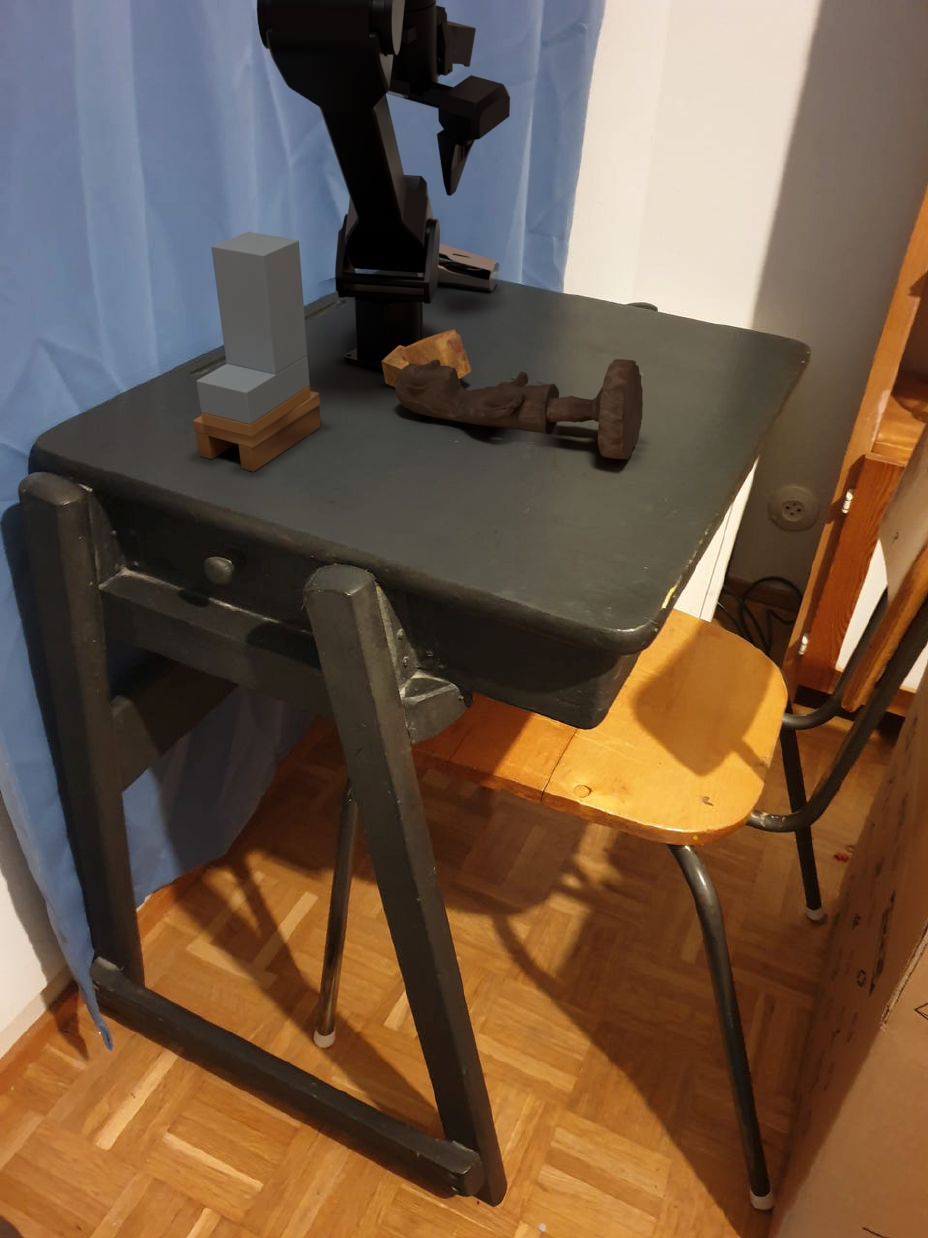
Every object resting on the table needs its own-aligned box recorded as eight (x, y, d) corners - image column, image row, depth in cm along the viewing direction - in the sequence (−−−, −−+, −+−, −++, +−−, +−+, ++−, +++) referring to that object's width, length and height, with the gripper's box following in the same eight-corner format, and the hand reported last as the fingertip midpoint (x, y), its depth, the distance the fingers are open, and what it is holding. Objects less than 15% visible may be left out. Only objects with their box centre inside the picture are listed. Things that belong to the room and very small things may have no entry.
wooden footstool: (268, 413, 78) (264, 379, 76) (322, 427, 76) (319, 392, 74) (198, 455, 72) (192, 419, 70) (255, 472, 70) (250, 436, 68)
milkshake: (495, 245, 101) (410, 227, 103) (485, 296, 103) (401, 277, 105) (505, 248, 105) (423, 230, 107) (495, 297, 107) (414, 278, 109)
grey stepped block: (264, 386, 75) (248, 231, 68) (311, 397, 74) (299, 239, 66) (202, 425, 69) (177, 258, 62) (251, 437, 68) (231, 269, 60)
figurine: (627, 353, 67) (376, 352, 74) (619, 459, 68) (374, 449, 75) (647, 364, 75) (420, 362, 82) (640, 459, 77) (417, 449, 83)
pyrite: (412, 386, 86) (398, 342, 85) (472, 373, 83) (459, 326, 81) (384, 402, 83) (369, 356, 81) (446, 389, 79) (431, 340, 77)
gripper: (546, -10, 79) (536, 171, 92) (370, -51, 86) (382, 124, 98) (476, 36, 74) (475, 222, 86) (293, -11, 80) (317, 168, 92)
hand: (412, 180), depth 91 cm, fingers open, 9 cm apart
